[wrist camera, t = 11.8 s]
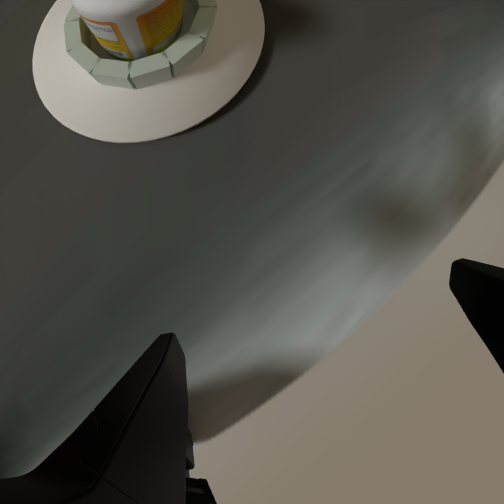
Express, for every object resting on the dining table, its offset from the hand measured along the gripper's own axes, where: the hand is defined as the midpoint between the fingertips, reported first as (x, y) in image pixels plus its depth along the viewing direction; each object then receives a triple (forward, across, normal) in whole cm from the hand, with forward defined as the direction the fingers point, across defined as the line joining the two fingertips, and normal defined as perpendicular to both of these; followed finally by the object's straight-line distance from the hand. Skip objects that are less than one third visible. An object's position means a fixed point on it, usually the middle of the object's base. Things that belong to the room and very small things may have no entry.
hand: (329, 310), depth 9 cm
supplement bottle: (+13, +6, -13) cm, 19 cm away
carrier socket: (+14, +6, -13) cm, 20 cm away
